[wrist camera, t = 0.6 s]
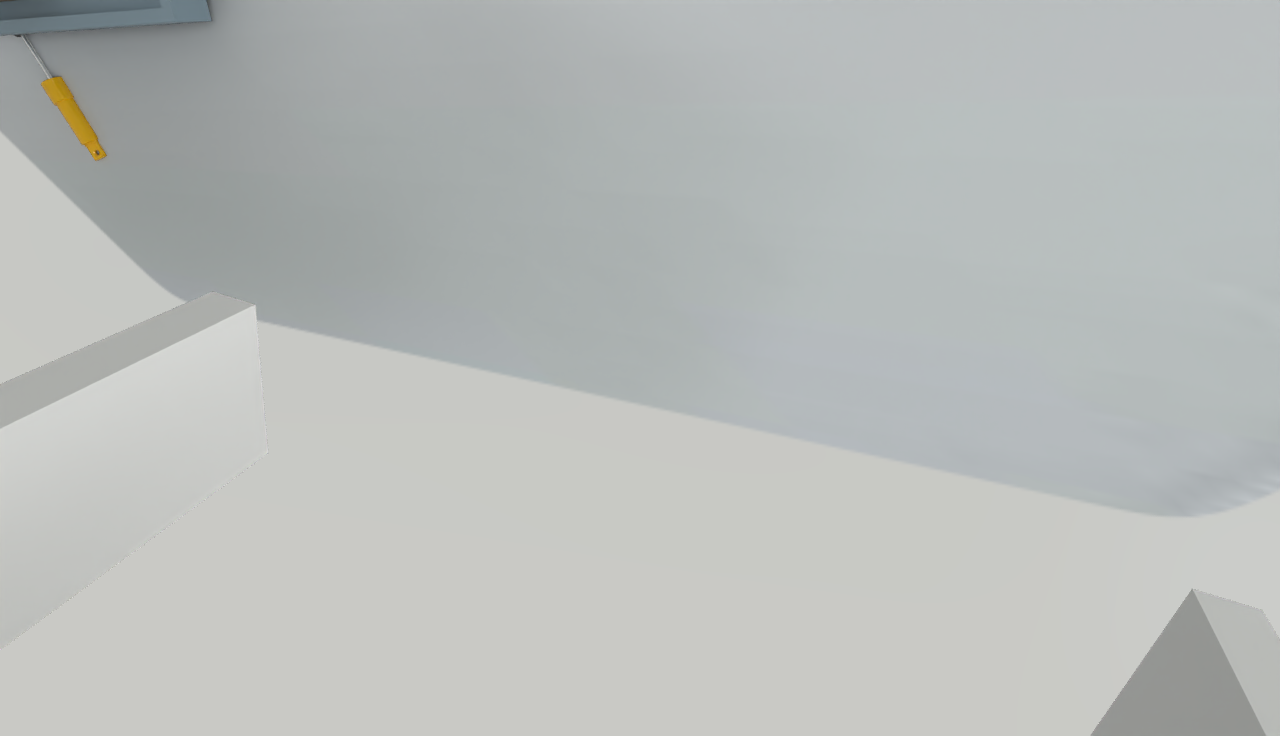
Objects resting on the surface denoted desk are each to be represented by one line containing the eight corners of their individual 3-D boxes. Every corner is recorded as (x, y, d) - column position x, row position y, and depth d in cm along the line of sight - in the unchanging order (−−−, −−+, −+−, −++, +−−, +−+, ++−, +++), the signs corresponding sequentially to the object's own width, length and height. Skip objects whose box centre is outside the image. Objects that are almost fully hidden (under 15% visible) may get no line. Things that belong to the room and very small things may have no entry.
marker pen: (-90, -137, 39) (100, 161, 44) (-113, -144, 38) (85, 163, 43) (-50, -163, 38) (138, 142, 43) (-71, -170, 37) (124, 143, 42)
